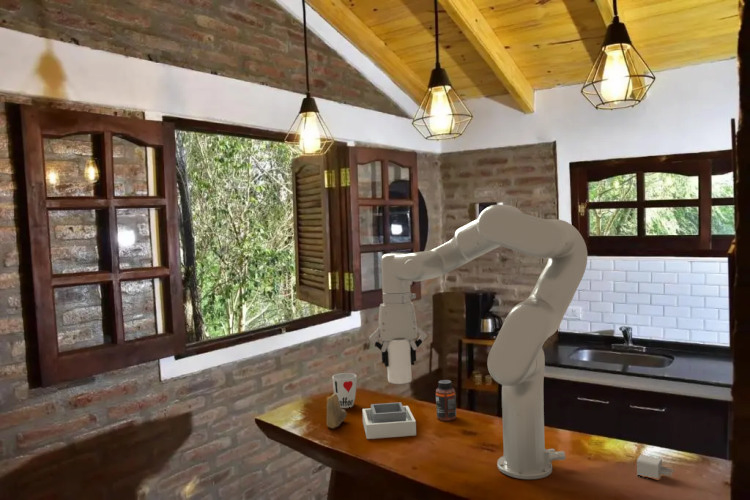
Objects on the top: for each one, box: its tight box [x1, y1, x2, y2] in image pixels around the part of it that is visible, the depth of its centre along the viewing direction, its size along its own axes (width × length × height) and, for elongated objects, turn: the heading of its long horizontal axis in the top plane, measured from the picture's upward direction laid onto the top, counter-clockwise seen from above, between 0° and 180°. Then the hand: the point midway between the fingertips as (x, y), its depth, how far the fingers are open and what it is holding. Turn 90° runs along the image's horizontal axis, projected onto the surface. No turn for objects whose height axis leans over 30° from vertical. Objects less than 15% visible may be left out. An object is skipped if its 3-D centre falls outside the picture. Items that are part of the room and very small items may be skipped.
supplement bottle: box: [435, 379, 457, 422], centre depth 166 cm, size 6×6×11 cm
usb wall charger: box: [636, 454, 675, 478], centre depth 122 cm, size 4×7×4 cm, turn 50°
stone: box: [326, 393, 348, 429], centre depth 164 cm, size 9×5×10 cm, turn 155°
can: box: [386, 339, 413, 385], centre depth 147 cm, size 6×6×12 cm
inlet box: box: [362, 401, 417, 440], centre depth 160 cm, size 14×14×6 cm
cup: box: [331, 372, 357, 409], centre depth 182 cm, size 8×8×10 cm
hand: (399, 364), depth 147 cm, fingers closed on can, 6 cm apart
